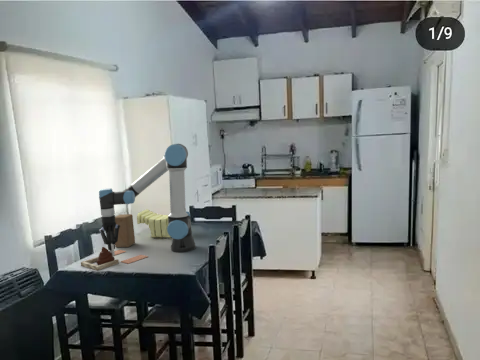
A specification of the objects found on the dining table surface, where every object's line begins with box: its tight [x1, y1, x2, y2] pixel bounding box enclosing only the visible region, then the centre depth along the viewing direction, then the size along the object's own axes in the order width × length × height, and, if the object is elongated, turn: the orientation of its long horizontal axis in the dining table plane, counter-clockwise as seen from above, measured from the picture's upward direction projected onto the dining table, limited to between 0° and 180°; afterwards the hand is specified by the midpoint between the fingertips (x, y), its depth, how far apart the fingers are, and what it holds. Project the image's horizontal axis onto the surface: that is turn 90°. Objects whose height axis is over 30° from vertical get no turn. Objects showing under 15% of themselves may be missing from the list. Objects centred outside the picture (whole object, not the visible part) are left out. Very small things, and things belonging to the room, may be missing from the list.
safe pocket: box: [80, 256, 120, 271], centre depth 235 cm, size 17×14×2 cm
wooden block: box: [114, 213, 136, 248], centre depth 272 cm, size 10×10×20 cm
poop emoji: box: [96, 246, 116, 265], centre depth 238 cm, size 10×8×9 cm
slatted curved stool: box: [136, 207, 187, 238], centre depth 291 cm, size 30×16×18 cm, turn 75°
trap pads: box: [113, 249, 149, 265], centre depth 247 cm, size 29×14×1 cm, turn 50°
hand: (112, 255), depth 241 cm, fingers closed
